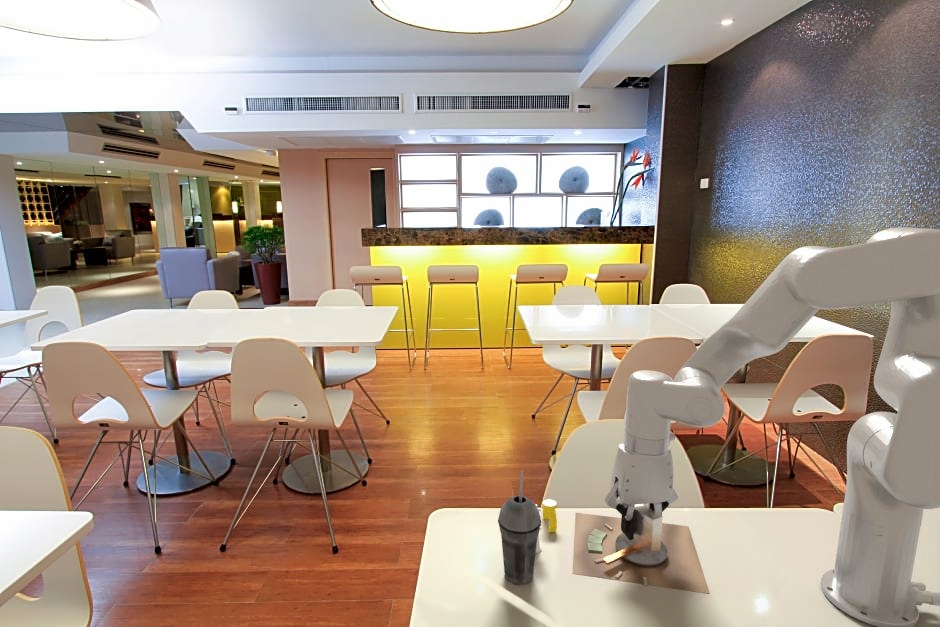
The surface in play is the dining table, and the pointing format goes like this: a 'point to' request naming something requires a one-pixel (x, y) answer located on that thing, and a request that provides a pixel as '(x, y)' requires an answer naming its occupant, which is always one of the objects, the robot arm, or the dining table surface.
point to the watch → (550, 514)
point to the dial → (641, 541)
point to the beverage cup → (519, 537)
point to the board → (599, 542)
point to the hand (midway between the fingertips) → (638, 533)
